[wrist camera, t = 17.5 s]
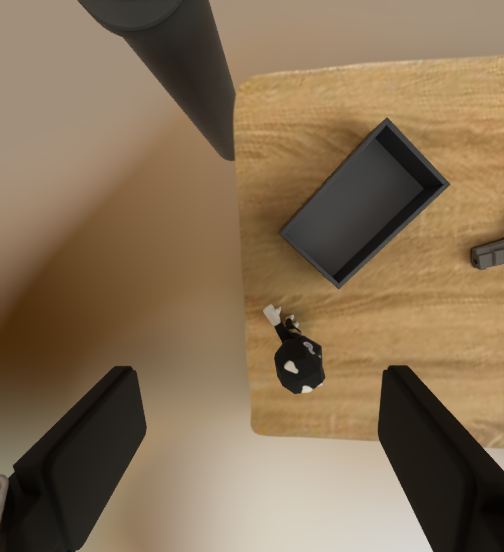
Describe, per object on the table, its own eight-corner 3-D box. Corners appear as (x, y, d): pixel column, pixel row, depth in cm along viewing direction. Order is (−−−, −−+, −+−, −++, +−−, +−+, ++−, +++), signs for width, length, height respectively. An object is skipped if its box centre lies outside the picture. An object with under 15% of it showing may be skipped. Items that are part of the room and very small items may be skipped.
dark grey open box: (278, 231, 37) (279, 233, 33) (372, 130, 33) (387, 117, 29) (331, 281, 38) (338, 289, 34) (428, 188, 34) (450, 184, 30)
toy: (329, 345, 41) (360, 416, 26) (296, 362, 42) (309, 438, 27) (286, 277, 39) (295, 313, 24) (254, 297, 40) (243, 341, 25)
